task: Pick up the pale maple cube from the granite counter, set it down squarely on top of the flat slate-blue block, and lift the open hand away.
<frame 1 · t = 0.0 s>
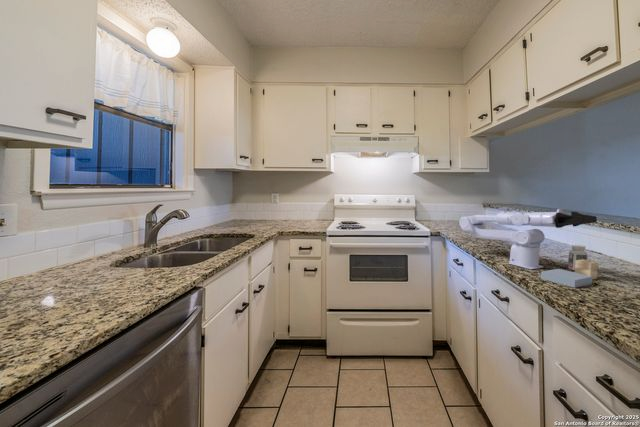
hand: (589, 219, 95), 22 cm above the countertop, tool horizontal, fingers open, 7 cm apart
pill bottle: (576, 269, 110), on the countertop
slate-blue block: (565, 282, 96), on the countertop
maple cube: (585, 277, 100), on the countertop
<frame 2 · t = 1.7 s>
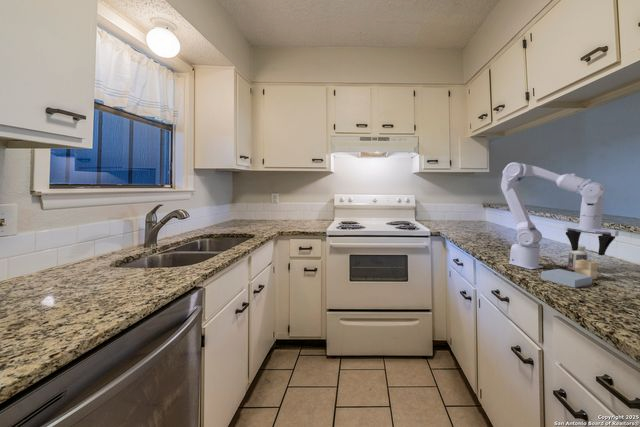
hand: (587, 252, 99), 9 cm above the countertop, tool pointing down, fingers open, 7 cm apart
nothing on the countertop moved.
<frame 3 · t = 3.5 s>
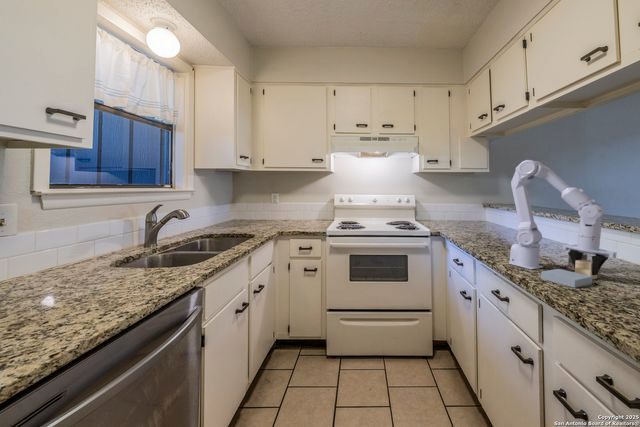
hand: (585, 272, 100), 2 cm above the countertop, tool pointing down, fingers closed on maple cube, 4 cm apart
maple cube: (585, 277, 100), on the countertop, touching gripper
everything else where it was.
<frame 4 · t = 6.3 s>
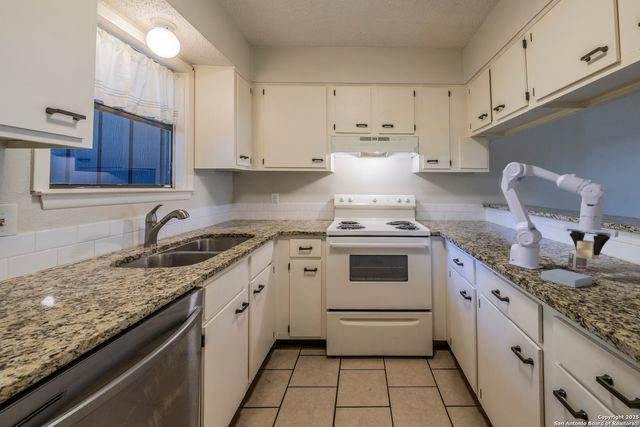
hand: (587, 253, 100), 9 cm above the countertop, tool pointing down, fingers closed on maple cube, 4 cm apart
maple cube: (587, 257, 100), point 7 cm above the countertop, touching gripper
everything else where it was.
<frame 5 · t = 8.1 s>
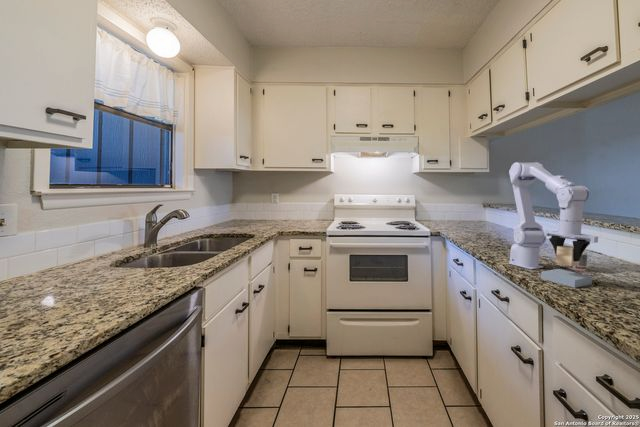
hand: (567, 259, 95), 8 cm above the countertop, tool pointing down, fingers closed on maple cube, 4 cm apart
maple cube: (567, 263, 96), point 6 cm above the countertop, touching gripper
everything else where it was.
when the fingers open (6 cm above the countertop, at t = 9.4 s): maple cube drops 1 cm, resting on slate-blue block.
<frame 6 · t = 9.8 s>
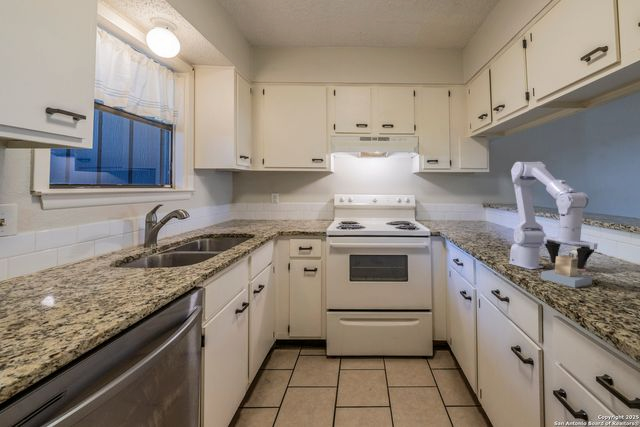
hand: (566, 265, 96), 6 cm above the countertop, tool pointing down, fingers open, 7 cm apart
slate-blue block: (565, 282, 96), on the countertop, touching maple cube
maple cube: (566, 274, 96), point 3 cm above the countertop, touching slate-blue block
everything else where it was.
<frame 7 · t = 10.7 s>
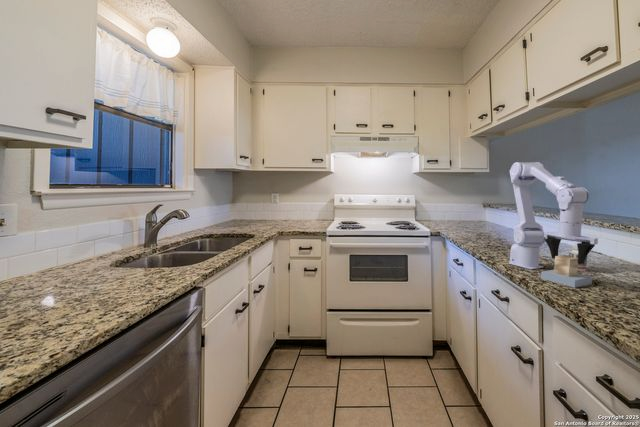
hand: (567, 260, 95), 7 cm above the countertop, tool pointing down, fingers open, 7 cm apart
nothing on the countertop moved.
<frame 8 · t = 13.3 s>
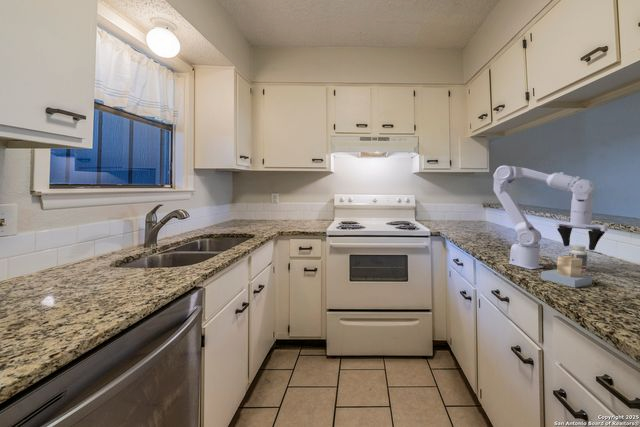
hand: (578, 247, 102), 10 cm above the countertop, tool pointing down, fingers open, 7 cm apart
at the end: maple cube 0.7 cm off-centre on the slate-blue block, point 3.0 cm above the slate-blue block's base; maple cube tilted 1°; maple cube touching nothing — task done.
